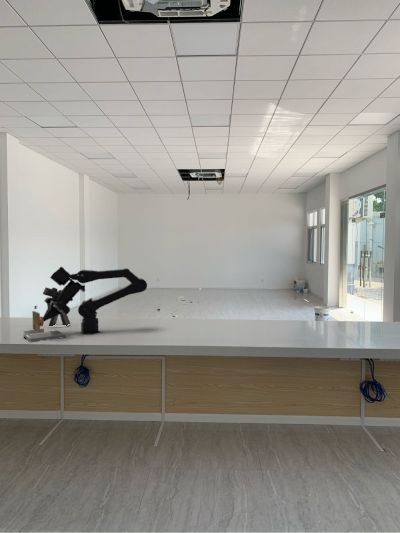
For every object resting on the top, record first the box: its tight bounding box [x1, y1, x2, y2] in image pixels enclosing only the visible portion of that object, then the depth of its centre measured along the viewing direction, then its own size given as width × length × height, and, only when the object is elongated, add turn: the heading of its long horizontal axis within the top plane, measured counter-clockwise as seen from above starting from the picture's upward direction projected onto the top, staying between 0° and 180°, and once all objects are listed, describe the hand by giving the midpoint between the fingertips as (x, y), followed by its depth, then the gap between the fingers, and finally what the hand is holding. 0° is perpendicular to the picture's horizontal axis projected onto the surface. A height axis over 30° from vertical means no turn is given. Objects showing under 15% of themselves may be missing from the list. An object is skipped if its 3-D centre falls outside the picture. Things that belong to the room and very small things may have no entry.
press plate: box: [32, 310, 45, 332], centre depth 166 cm, size 3×8×8 cm, turn 37°
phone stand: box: [48, 311, 71, 326], centre depth 192 cm, size 9×6×12 cm, turn 92°
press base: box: [23, 327, 66, 343], centre depth 167 cm, size 14×11×3 cm
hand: (42, 320), depth 167 cm, fingers closed, pressing on press plate
